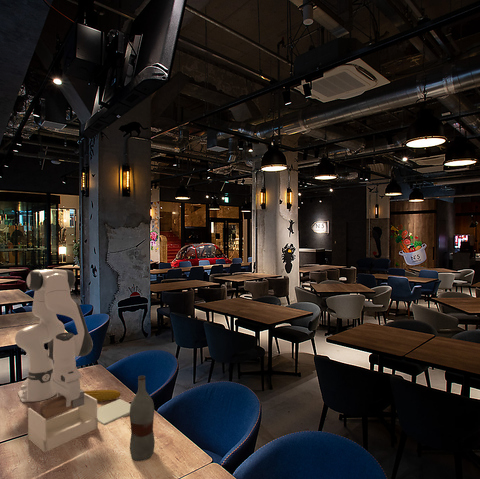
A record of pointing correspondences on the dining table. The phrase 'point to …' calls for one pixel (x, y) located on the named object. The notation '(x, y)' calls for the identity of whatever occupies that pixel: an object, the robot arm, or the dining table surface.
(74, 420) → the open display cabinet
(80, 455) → the dining table surface
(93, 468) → the dining table surface
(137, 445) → the bottle
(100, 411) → the board
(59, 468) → the dining table surface
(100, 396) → the food
